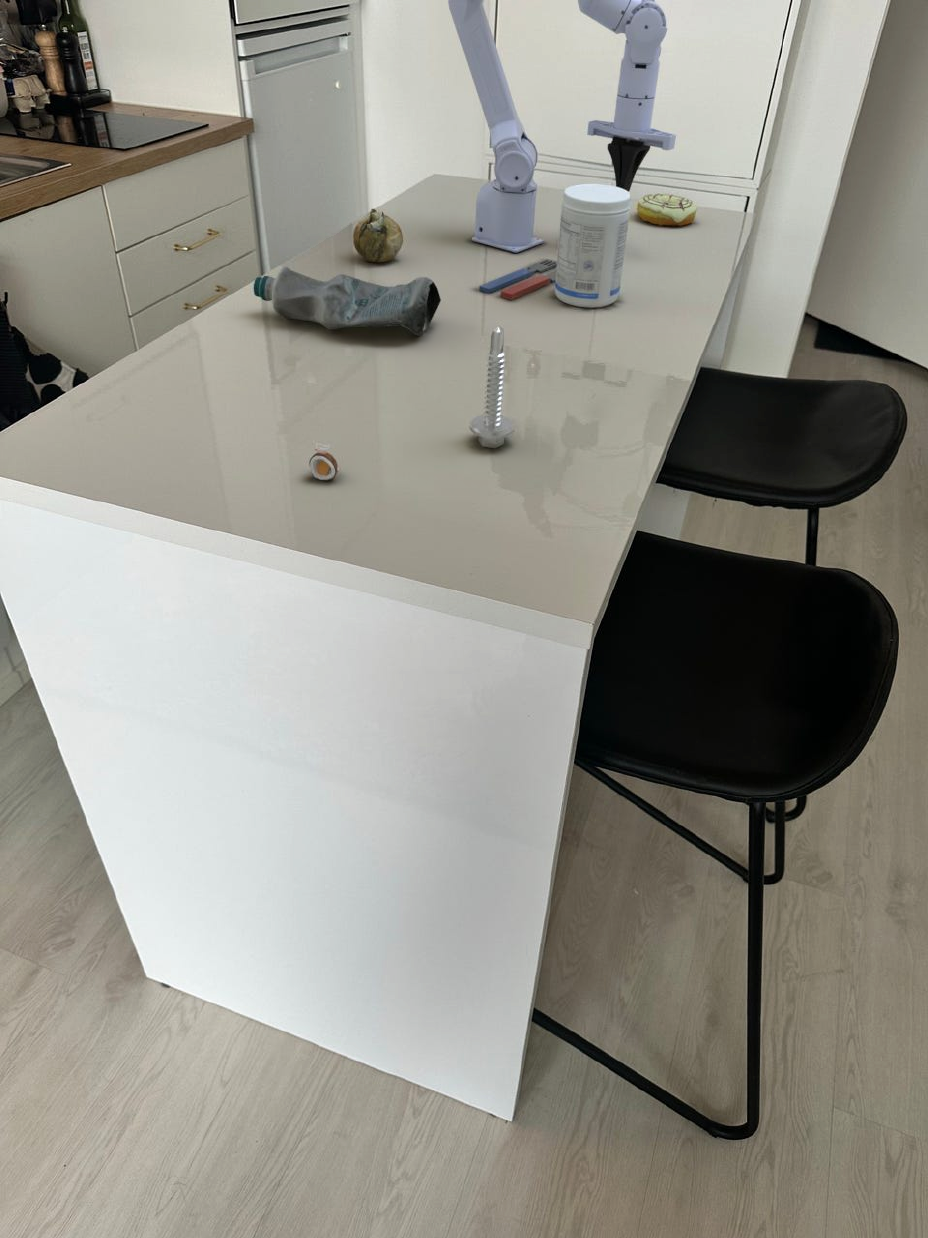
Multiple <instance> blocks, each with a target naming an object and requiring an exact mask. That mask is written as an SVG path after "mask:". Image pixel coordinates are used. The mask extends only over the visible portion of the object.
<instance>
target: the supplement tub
mask: <svg viewBox="0 0 928 1238" xmlns="http://www.w3.org/2000/svg"><path fill="white" fill-rule="evenodd" d="M631 197H632V195H631V193H630V191H629V192H628V191H626V190H624V189H622V188H619V187H616V185H614V186H613V185H610V184H601V183H581V184H575V185H571V186H568V187H566V188H565V189H564V191H563V199H562V201H561V211H560V221H559V233H558V245H557V258H556V263H557V266H556V269H555V272H556V279H555V282H554V294H555V297H557V299H559V300H560V301H561V302H563V303H565V304H567V305H571V306H574V307H579V308H590V309H591V308H593V309H594V308H603V307H606V306H607V307H608V306H609V305H611V304H613V303H615V302H616V301H617V300H618V298H619V295H620V289H621V283H622V274H623V267H624V261H625V260H624V259H625V254H626V253H625V252H626V245H627V237H628V230H629V221H630V214H631Z"/></svg>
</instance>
